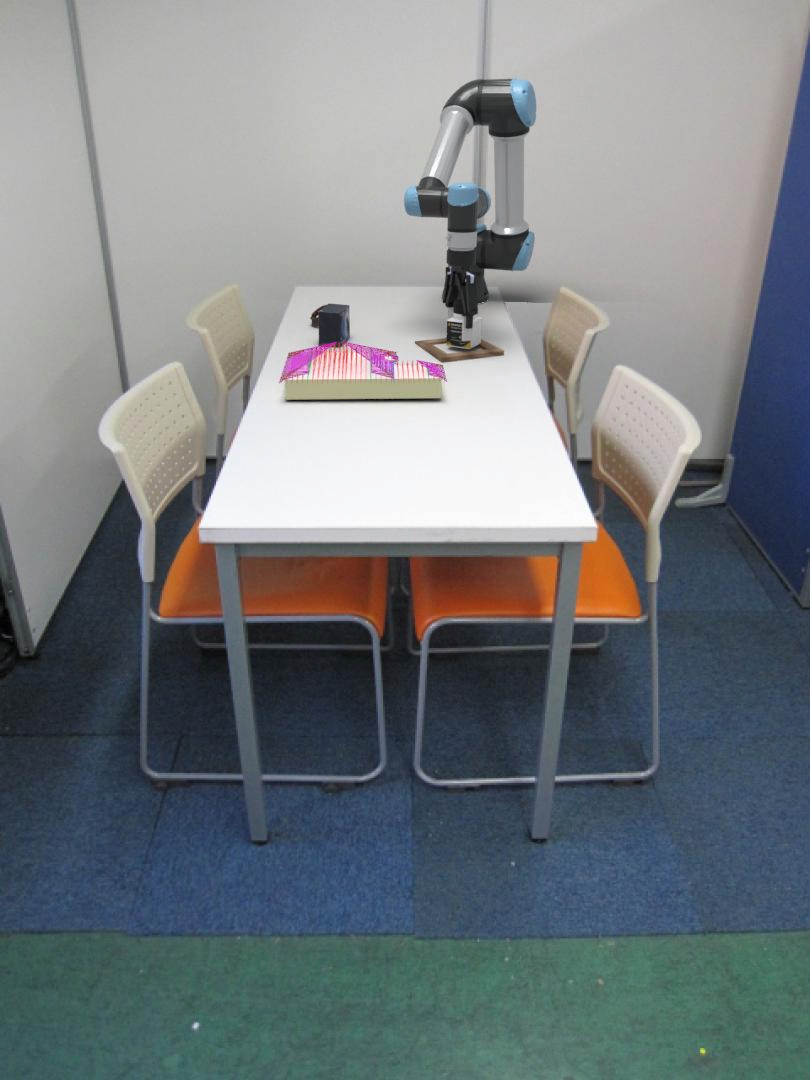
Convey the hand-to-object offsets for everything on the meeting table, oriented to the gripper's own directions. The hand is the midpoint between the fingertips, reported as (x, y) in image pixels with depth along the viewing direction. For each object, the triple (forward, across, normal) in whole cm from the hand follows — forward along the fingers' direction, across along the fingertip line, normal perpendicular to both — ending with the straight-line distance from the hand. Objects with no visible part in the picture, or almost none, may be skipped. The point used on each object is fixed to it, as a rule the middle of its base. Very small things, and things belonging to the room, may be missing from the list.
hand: (458, 335), depth 233 cm
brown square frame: (+4, 0, 0) cm, 4 cm away
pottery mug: (+5, -36, -23) cm, 43 cm away
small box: (+4, -18, -29) cm, 34 cm away
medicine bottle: (+3, 0, +2) cm, 3 cm away
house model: (+5, +17, -33) cm, 38 cm away
